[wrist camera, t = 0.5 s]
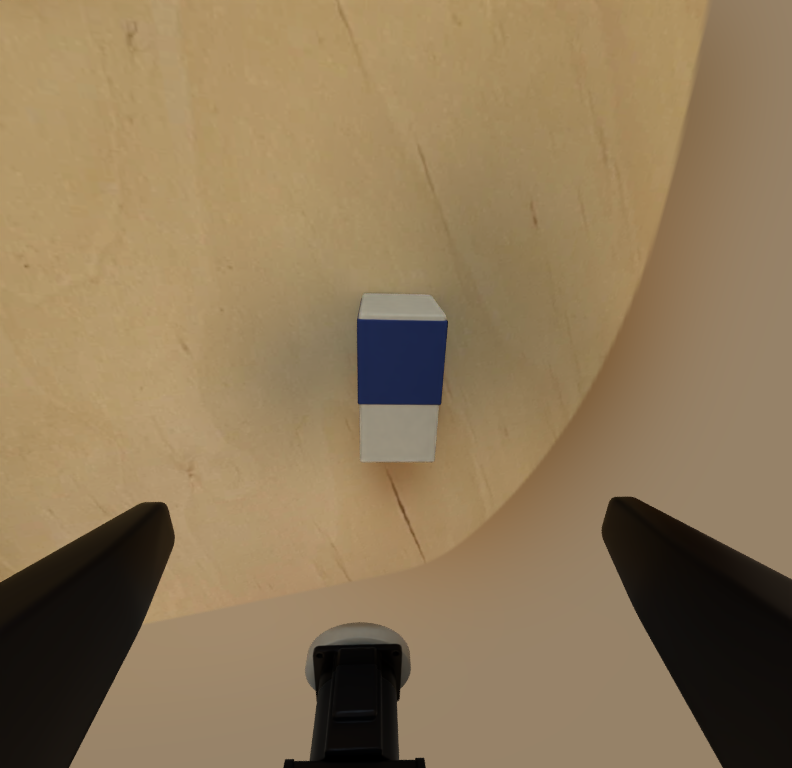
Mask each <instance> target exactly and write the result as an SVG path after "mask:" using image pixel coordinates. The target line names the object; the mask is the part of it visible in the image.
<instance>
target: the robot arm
mask: <svg viewBox="0 0 792 768" xmlns="http://www.w3.org/2000/svg"><path fill="white" fill-rule="evenodd" d="M602 537H603V540H604V543H605V545H606V547H607V549H608V552H609V554H610V556H611V558H612V560H613V563H614V565H615V567H616V569H617V572H618V574H619V576H620V578H621V580H622V583H623V585H624V587H625V590H626V592H627V594H628V596H629V598H630V601H631V602H632V605H633V607H634V609H635V611H636V613H637V615H638V617H639V619H640V621H641V622H642V624H643V626H644V628H645V630H646V632H647V633H648V635H649V637H650V639H651V641H652V642H653V644H654V646H655V648H656V649H657V651H658V653H659V655H660V656H661V658H662V660H663V662H664V664H665V665H666V667H667V669H668V670H669V672H670V674H671V676H672V678H673V679H674V681H675V683H676V685H677V687H678V689H679V690H680V692H681V694H682V696H683V697H684V699H685V701H686V703H687V705H688V706H689V708H690V710H691V711H692V714H693V715H694V717H695V719H696V721H697V722H698V724H699V726H700V728H701V730H702V731H703V733H704V735H705V737H706V738H707V740H708V742H709V744H710V746H711V747H712V749H713V751H714V753H715V754H716V756H717V758H718V760H719V762H720V763H721V765H722V767H723V768H792V579H790V578H788V577H786V576H784V575H782V574H780V573H778V572H776V571H775V570H773V569H771V568H769V567H767V566H765V565H763V564H761V563H759V562H757V561H755V560H754V559H752V558H750V557H748V556H746V555H744V554H742V553H740V552H738V551H736V550H734V549H732V548H730V547H728V546H727V545H725V544H722V543H721V542H719V541H717V540H715V539H713V538H711V537H709V536H707V535H705V534H704V533H701V532H700V531H698V530H696V529H694V528H692V527H690V526H688V525H686V524H684V523H683V522H681V521H679V520H677V519H675V518H673V517H671V516H669V515H667V514H665V513H663V512H661V511H660V510H658V509H656V508H654V507H652V506H649V505H648V504H646V503H644V502H642V501H640V500H638V499H636V498H634V497H614V498H612V499H611V500H610V501H609V504H608V507H607V511H606V514H605V518H604V522H603V525H602ZM174 540H175V535H174V530H173V526H172V522H171V518H170V514H169V510H168V507H167V505H166V504H165V503H163V502H144V503H140V504H138V505H136V506H135V507H133V508H131V509H129V510H128V511H126V512H124V513H122V514H120V515H119V516H117V517H115V518H113V519H112V520H110V521H108V522H106V523H105V524H103V525H101V526H99V527H98V528H96V529H94V530H92V531H90V532H89V533H87V534H85V535H83V536H82V537H80V538H78V539H76V540H75V541H73V542H71V543H69V544H67V545H66V546H64V547H62V548H60V549H59V550H57V551H55V552H53V553H52V554H50V555H48V556H46V557H45V558H43V559H41V560H39V561H37V562H36V563H34V564H32V565H30V566H29V567H27V568H25V569H23V570H22V571H20V572H18V573H16V574H14V575H13V576H11V577H9V578H7V579H6V580H4V581H2V582H0V768H69V766H70V764H71V762H72V760H73V759H74V757H75V755H76V753H77V751H78V749H79V747H80V745H81V743H82V741H83V739H84V737H85V735H86V733H87V731H88V729H89V727H90V726H91V723H92V722H93V720H94V718H95V716H96V714H97V712H98V710H99V708H100V706H101V704H102V702H103V700H104V698H105V696H106V694H107V692H108V691H109V689H110V687H111V685H112V683H113V681H114V679H115V677H116V675H117V673H118V671H119V669H120V667H121V665H122V663H123V661H124V659H125V657H126V656H127V654H128V652H129V650H130V648H131V646H132V644H133V642H134V640H135V638H136V636H137V634H138V631H139V630H140V628H141V625H142V623H143V621H144V618H145V616H146V614H147V611H148V609H149V606H150V604H151V601H152V599H153V596H154V594H155V591H156V589H157V586H158V584H159V581H160V579H161V576H162V574H163V571H164V569H165V566H166V564H167V561H168V559H169V556H170V554H171V551H172V549H173V546H174ZM313 666H314V678H315V690H316V701H317V706H316V714H315V722H314V730H313V738H312V746H311V754H310V761H294V759H286V760H285V763H284V768H426V767H425V760H424V758H415V760H399V747H398V746H399V745H398V722H397V702H398V701H399V699H400V685H401V667H402V646H401V645H400V644H360V645H323V646H316V647H315V648H314V650H313Z"/></svg>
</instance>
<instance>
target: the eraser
mask: <svg viewBox="0 0 792 768" xmlns="http://www.w3.org/2000/svg"><path fill="white" fill-rule="evenodd" d="M447 327H448V321H447V320H446V315H445V313H444V312H443V311H442V309H441V308H440V307H439V305H438V304H437V302H436V301H435V300H434V298H433V297H432V296H431V295H426V294H381V293H364V294H363V295H362V299H361V303H360V308H359V313H358V318H357V367H358V404H359V425H360V461H361V462H434V460H435V450H436V438H437V426H438V414H439V405H441V399H442V387H443V375H444V363H445V351H446V339H447Z"/></svg>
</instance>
